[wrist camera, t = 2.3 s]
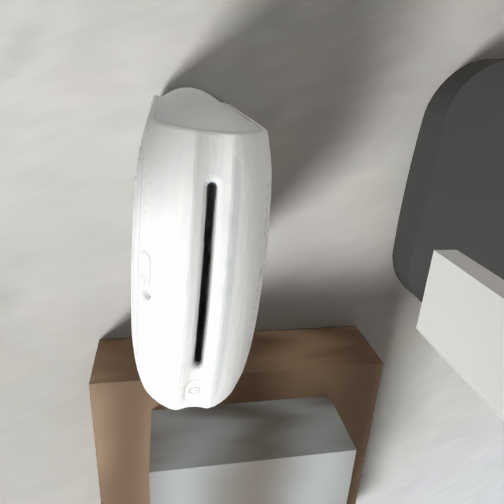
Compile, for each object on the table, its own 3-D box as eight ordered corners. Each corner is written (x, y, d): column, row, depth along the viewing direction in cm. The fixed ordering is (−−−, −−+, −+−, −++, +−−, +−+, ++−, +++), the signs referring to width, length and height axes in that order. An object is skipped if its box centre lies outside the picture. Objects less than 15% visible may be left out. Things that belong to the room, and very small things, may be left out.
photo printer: (217, 278, 26) (258, 439, 15) (141, 276, 25) (123, 446, 14) (235, 92, 22) (308, 118, 11) (146, 82, 21) (128, 99, 10)
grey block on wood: (117, 547, 33) (104, 684, 25) (99, 339, 26) (74, 445, 19) (323, 518, 36) (364, 634, 28) (355, 326, 29) (419, 412, 22)
